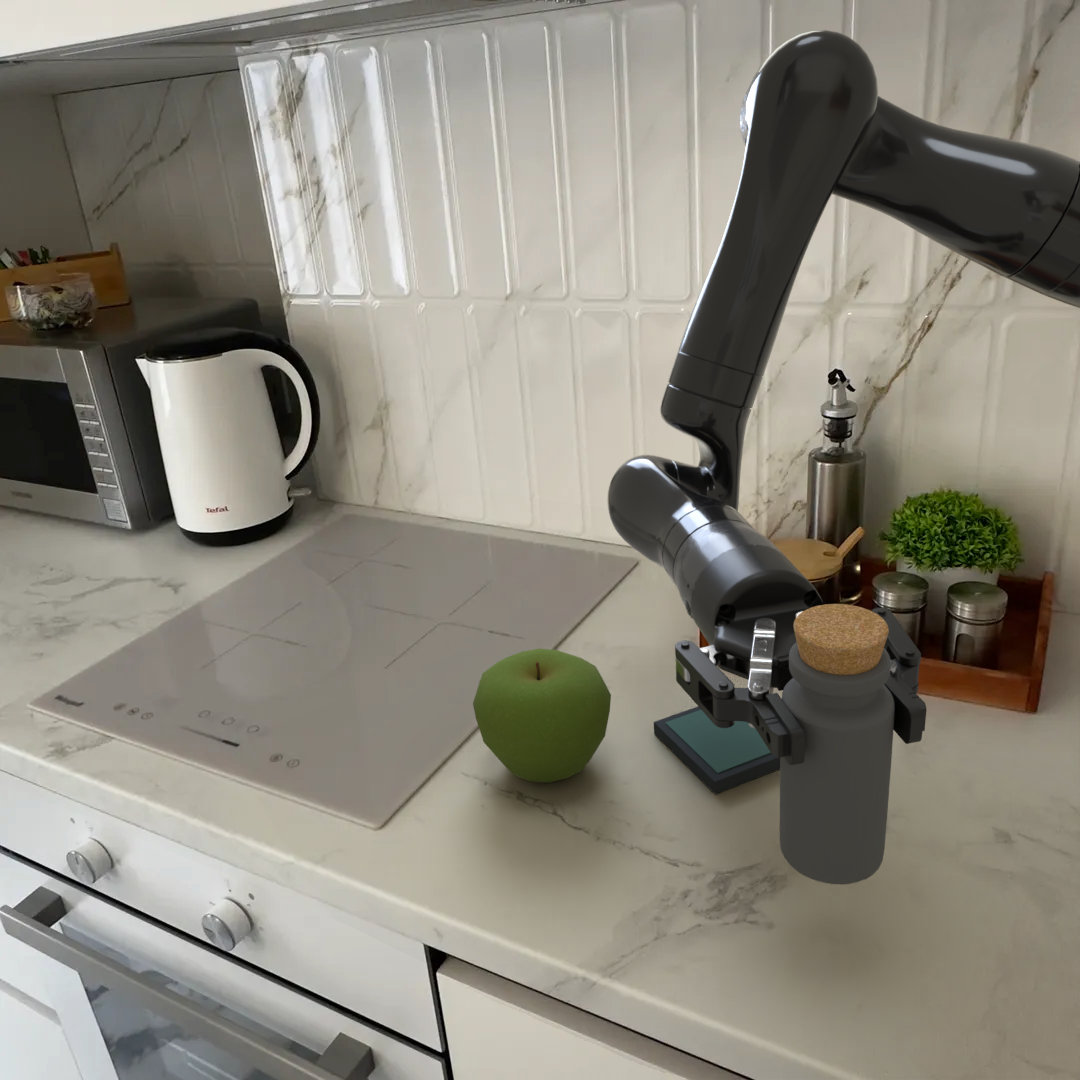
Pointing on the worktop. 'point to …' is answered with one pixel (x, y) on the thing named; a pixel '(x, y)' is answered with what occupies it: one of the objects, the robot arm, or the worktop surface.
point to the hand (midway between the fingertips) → (857, 739)
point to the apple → (542, 713)
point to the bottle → (838, 745)
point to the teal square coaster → (716, 749)
